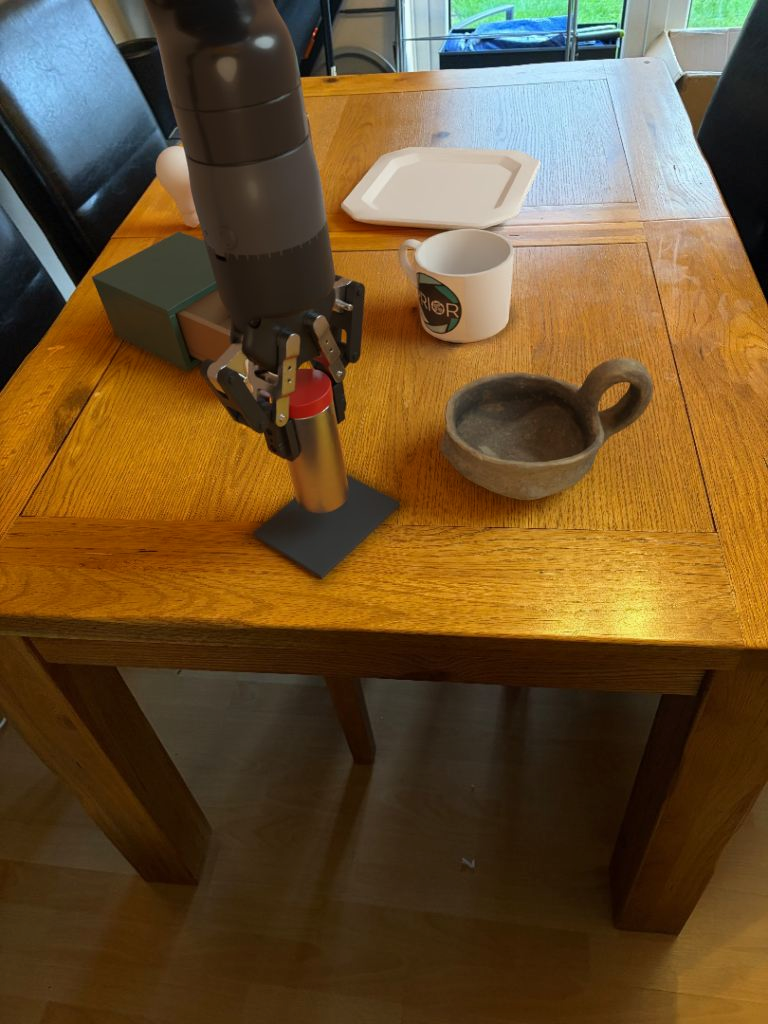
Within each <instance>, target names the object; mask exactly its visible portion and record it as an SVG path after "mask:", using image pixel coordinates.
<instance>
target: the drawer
mask: <svg viewBox="0 0 768 1024" xmlns="http://www.w3.org/2000/svg"><path fill="white" fill-rule="evenodd" d="M175 315H176V318H177V322H178V325H179V328H180V331H181V334H182V337H183V340H184V343H185V346H186V349H187V352H188V354H189V355H191V356H193V357H195V358H197V359H199V360H201V361H204V360H206V359H211V360H213V361H217V360H218V359H219V358H220V357H221V356H222V355H223V353H224V352H225V351H226V350H227V349H228V348H229V347H230V346H231V343H230V332H231V318H230V316H229V314H228V312H227V310H226V308H225V306H224V304H223V303H222V301H221V298H220V295H219V292H218V289H216V290H214V291H213V292H211V293H209V294H208V295H206V296H204V297H203V298H201V299H199V300H198V301H196V302H194V303H192V304H191V305H189V306H187V307H186V308H184V309H182V310H181V311H179V312H177V313H176V314H175ZM244 370H245V372H246V376H247V377H248V359H246V361H245V364H244ZM269 373H270V372H269ZM270 374H272V373H270ZM272 375H274V376H276V377H278V375H275V374H272ZM246 386H247V387H248V389H249V390H250V392H251V394H253V387H252V385H251V384H250V382H248V383H247V384H246Z"/></svg>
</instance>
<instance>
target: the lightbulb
mask: <svg viewBox="0 0 768 1024" xmlns="http://www.w3.org/2000/svg"><path fill="white" fill-rule="evenodd" d="M155 174H156V178H157V179H158V181H159V183H160V185H161V186H162V187H163V188H164V190H166V192H167V193H168V194H169V195H170V196H171V198H172V199H173V201H174V202H175V203H174V204H176V208H177V210H178V211H179V213H180V215H181V218H182V220H183V223H184V225H185V226H187V227H190V228H191V229H196V228H198V227H199V226H200V223H199V220H198V216H197V213H196V209H195V205H194V202H193V197H192V193H191V187H190V179H189V172H188V166H187V161H186V156H185V151H184V148H183V146H180V145H171V146H169V147H166V148H165V149H163V150H162V151H161V152H160V154H158V157H157V158H156V162H155Z"/></svg>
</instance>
